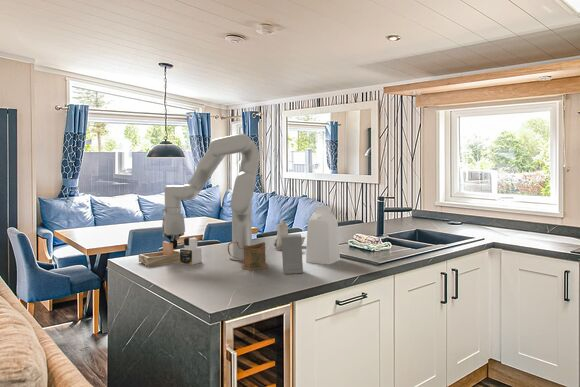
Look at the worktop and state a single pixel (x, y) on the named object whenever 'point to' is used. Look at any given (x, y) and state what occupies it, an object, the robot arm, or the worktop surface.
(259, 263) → the mug
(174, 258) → the wooden tray
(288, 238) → the skincare box
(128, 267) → the worktop surface
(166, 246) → the pusher plate
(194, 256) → the medicine bottle
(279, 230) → the chinaware
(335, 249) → the milk
